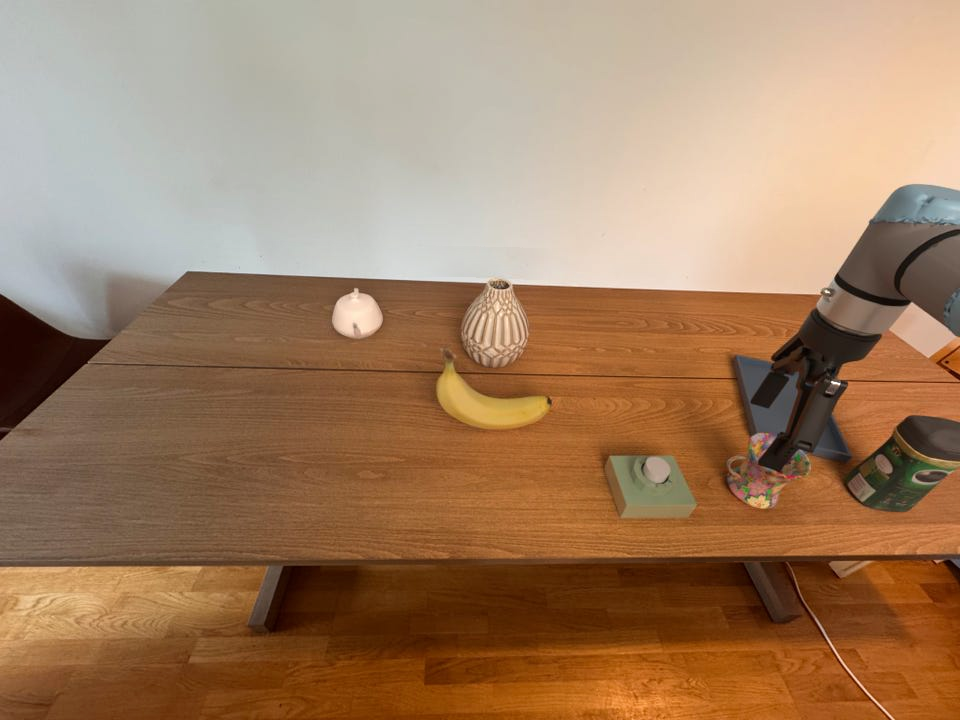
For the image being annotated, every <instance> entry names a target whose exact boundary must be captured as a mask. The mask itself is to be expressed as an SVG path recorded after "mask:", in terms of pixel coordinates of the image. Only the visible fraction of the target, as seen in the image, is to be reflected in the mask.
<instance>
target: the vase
mask: <svg viewBox="0 0 960 720" xmlns="http://www.w3.org/2000/svg"><path fill="white" fill-rule="evenodd" d="M460 326H461V327H460V338H461V343H462V346H463V348H464V350H465V353H466V354H467V355H468V357H469V358H470V359H471V360H473V361H474V362H475V363H477V364H479V365H480V366H483V367H487V368H493V369H494V368H497V369H498V368H503V367H507V366H509V365H511V364H513V363H515V362H516V361H517V360H518V359H519V358H520V357H521V356H522V355H523V353H524V352H525V350H526V349H527V346H528V343H529V339H530V334H531V333H530V331H531V330H530V322H529V318H528V315H527V312H526V310H525V308H524V307H523V305H522V303H521V301H520V300H519V298H517V295H516V294H515V290H514V286H513V283H512V282H511V281H510V280H508V279H506V278H502V277H494V278H491V279H488V281H487V282H486V284H485V287H484V289H483V291H482V292H481V293H480V294H479V295H478V296H476V298H474V300H473V301H472V302H471V303H470V305H469V306H468V307H467V309H466V311H465V313H464V316H463V318H462V321H461V324H460Z"/></svg>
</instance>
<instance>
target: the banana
mask: <svg viewBox="0 0 960 720" xmlns="http://www.w3.org/2000/svg"><path fill="white" fill-rule="evenodd" d="M439 352H440V354H441V356H440V357H441V359H442V360H443V361H444V363H445V365H444V366H445V367H444V369H443V372H442V373H441V374H440V375H439V377H438V378H437V380H436V383H435V393H436V399H437V402H438V404H439V405H440V406H441V408H442V409H443V410H444V411H445V413H447V414H448V415H450V416H451V417H453V418H454V419H456V420H458V421H459V422H461V423H463V424H466V425H468V426H471V427H473V428H478V429H483V430H498V431H501V430H513V429H518V428H519V429H520V428H523V427H526V426H530V425H532V424H535V423H536V422H538V421H539V420H541V419H542V418H544V417H545V416H546V415H547V414H548V412H549V411H550V409H551V407H552V405H553V402H552V399H551V398H550V396H548V395H531V396H523V397H515V398H497V397H491V396H487V395H484V394H482V393H480V392H478V391H476V390H475V389H473V388H472V387H471V386H470V385H469V384H468V383H467V382H466V381H465V380H464V378H462V376H461V375H460V374H459V373H458V372H456V369H455V366H454V361H455V360H456V359H458V356H457V355H456V354H455V352H453V351H452V348H451V347H447V346H443V347H441V348H440V350H439Z"/></svg>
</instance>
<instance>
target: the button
mask: <svg viewBox="0 0 960 720" xmlns="http://www.w3.org/2000/svg"><path fill="white" fill-rule="evenodd" d="M670 471H671V470H670V466H669V464H668V463H667V462H666V461H665V460H663V459H661V458H659V457H650V458H648V459H647V460H646V462H645V464H644V466H643V468H642V472H643V475H644V476H645V477H646V478H647V479H648V480H649V481H651V482H654V483H657V484H660V483H663V482H665V481H666V479H667V477H668V475H669V474H670Z"/></svg>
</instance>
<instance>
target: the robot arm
mask: <svg viewBox="0 0 960 720" xmlns="http://www.w3.org/2000/svg"><path fill="white" fill-rule="evenodd" d="M819 293H820V295H821V296H820V298H819V300H818V301H817V302H816V307H815V308H813V309H812V310H811V311H810V312H809V313H808V315H807V317H806V318H805V319H804V321H803V323H802V324H801V326H800V327H799V328H798V331H797V332H796V333H795V334H794V335H793V336H792V337H790V339H788V340H787V341H786V342H785V343H784V344H782V346H780V347H779V348H778V349H777V350H776V351H775V352H774V353H773V354H772V355H771V356H770V362H774V363H773V364H772V365H771V367H770V370H772V371H771V372H769V373H768V375H767V376H766V378H765V379H764V381H763V382H762V384H761V385H760V387H759V388H758V390H757V391H756V393H755V394H754V396H753V397H752V399H751V400H750V402H751V404H754V405H757V406H761V407H764V408H768V409H769V407H770V406H771V405H772V403H773V402H774V400H775V399H776V398H777V396H778V395H779V393H780V392H781V391H782V389H783V388H784V386H785V385H786V384H787V382H788V381H789V377H787V376H784V375H785V374H787V375H790V376H794V375H793V374H794V373H795V372H797V371H798V372H799V377H798V380H797V383H796V389H797V390H798V394H797V397H796V400H795V403H794V406H793V409H792V412H791V416H790V419H789V422H788V425H787V428H786V431H785V433H784V432H780V433H778V436H777V437H776V439H775V440H774V441H773V442H772V444H771V445H770V446H769V448H768V449H767V450H766V451H765V453H764V454H763V455H762V456H761V458H760V459H759V460H758V465H760V466H763V467H766V468H769V469H772V470H775V471H778V472H779V471H780V470H781V469H782V468H783V467H784V466H785V464H786V463H787V462H788V461H789V460H790V459H791V458H792V456H793V455H794V454H795V453H796V452H797V451H798V449H799V450H802V451H806V452H809V453H813V452H814V450H815V448H816V446H817V444H818V442H819V439H820V437H821V435H822V433H823V431H824V429H825V427H826V425H827V423H828V420H829V418H830V416H831V414H833V412H834V410H835V408H836V406H837V404H838V401H839V400H840V399H841V397H842V396H843V394H844V393H845V391H846V390H847V389H848V387H849V382H848V381H847V380H842V379H840V378H838V376H839V373H840V371H841V369H842V367H843V365H845V364H848V363H853V362H854V363H855V362H859V361H861V360H862V361H863V360H864V359H865V358H866V357H868V355H869V353H870V352H871V351H872V350H873V349H874V348H875V346H876V345H877V344H878V343H879V342H880V340H881V339H882V337H883V334H885V333H887V332H888V331H889V330H890V329H891V327H893V325H894V324H895V323H896V322H897V320H899V318H900V317H901V316H902V315H903V314H904V313H905V311H906V310H907V308H908V307H909V306H910V305H911V303H913V304H914V305H915V306H917V308H919V309H920V310H922V311H923V312H924V313H926V314H927V315H929V316H930V317H931V318H933V319H935V320H936V321H937V323H940V324H941V325H942V326H944V327H945V328H946V329H948V331H949V332H951V333H952V335H954V336H955V337H957V338H960V189H954V188H950V187H945V186H940V185H934V184H924V183H911V184H906V185H905V184H904V185H903V186H899V187H898V188H896V189H895V190H894V191H893V192H892V193H891V194H890V195H889V196H888V197H887V199H885V201H884V202H883V204H882V205H881V207H880V208H879V209H878V210H877V212H876V213H874V216H873V217H872V218H871V219H869V221H868V225H867V226H866V228H865V229H864V231H863V232H862V234H861V235H860V237H859V238H858V240H857V241H856V243H855V245H854V246H853V247H852V249H851V251H850V253H849V254H848V255H847V257H846V259H844V262H843V263H842V265H841V266H840V268H839V269H838V271H837V272H836V274H835V275H834V277H833V278H832V280H831V282H830V283H829V285H828V286H827V287H822V288H821V289H820V292H819ZM806 383H809V384H812V385H815V387H812V386H808V385H806Z"/></svg>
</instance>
